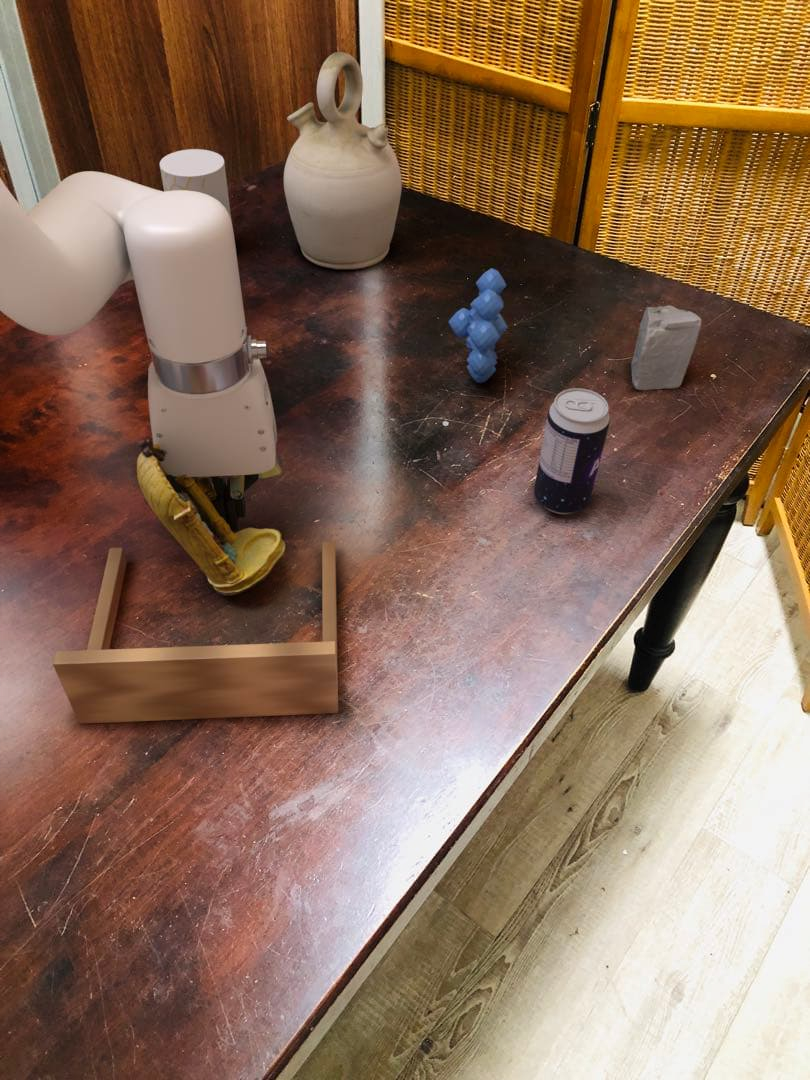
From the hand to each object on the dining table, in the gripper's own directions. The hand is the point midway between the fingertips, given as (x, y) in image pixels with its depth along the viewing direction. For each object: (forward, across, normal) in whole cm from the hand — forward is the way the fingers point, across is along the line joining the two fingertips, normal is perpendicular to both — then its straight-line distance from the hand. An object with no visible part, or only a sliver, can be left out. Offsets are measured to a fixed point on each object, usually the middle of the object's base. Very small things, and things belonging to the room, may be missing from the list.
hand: (230, 520), depth 83 cm
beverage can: (+2, -32, -3) cm, 33 cm away
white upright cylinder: (+2, +7, -55) cm, 55 cm away
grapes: (+2, -27, -26) cm, 37 cm away
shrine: (+2, 0, +5) cm, 5 cm away
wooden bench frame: (+2, +1, +11) cm, 11 cm away
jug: (+2, -12, -55) cm, 56 cm away
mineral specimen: (+3, -48, -24) cm, 54 cm away
